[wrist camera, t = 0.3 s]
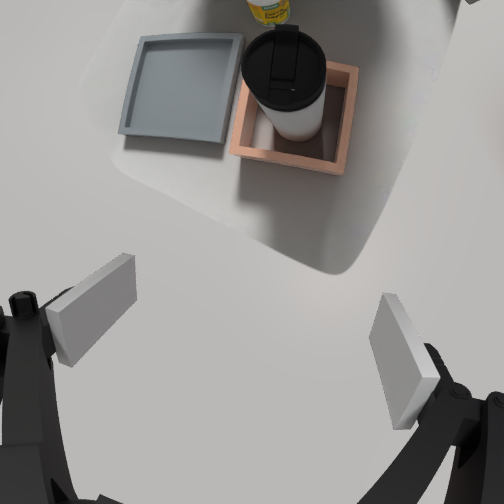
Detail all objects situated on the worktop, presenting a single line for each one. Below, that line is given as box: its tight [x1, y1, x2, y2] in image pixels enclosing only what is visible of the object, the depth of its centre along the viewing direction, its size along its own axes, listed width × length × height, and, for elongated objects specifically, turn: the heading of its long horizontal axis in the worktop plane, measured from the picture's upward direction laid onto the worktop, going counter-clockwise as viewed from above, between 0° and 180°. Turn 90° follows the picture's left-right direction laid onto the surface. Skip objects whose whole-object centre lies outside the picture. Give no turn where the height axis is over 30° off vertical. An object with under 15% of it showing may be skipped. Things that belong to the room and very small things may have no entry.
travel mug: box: [241, 24, 327, 142], centre depth 28 cm, size 6×7×20 cm
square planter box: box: [229, 61, 359, 176], centre depth 35 cm, size 13×13×6 cm
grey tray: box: [118, 33, 245, 144], centre depth 39 cm, size 16×16×2 cm
